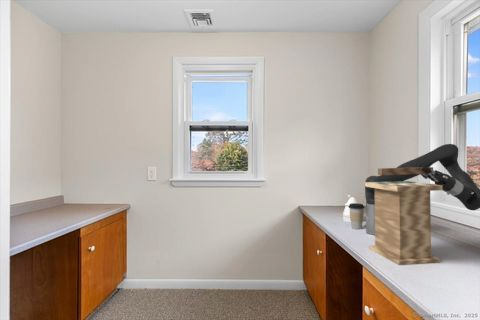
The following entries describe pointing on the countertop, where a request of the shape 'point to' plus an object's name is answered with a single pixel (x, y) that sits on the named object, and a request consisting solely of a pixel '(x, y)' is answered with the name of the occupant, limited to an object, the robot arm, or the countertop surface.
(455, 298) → the countertop surface
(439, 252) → the countertop surface
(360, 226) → the coffee cup
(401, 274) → the countertop surface
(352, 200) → the honey pot
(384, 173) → the walnut bar
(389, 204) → the oak lectern
